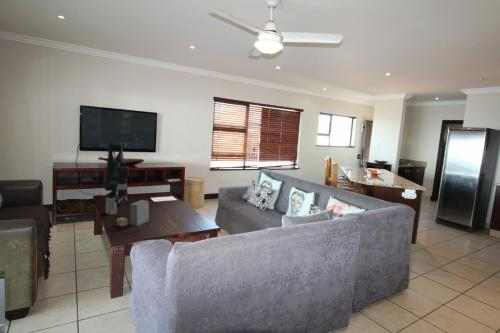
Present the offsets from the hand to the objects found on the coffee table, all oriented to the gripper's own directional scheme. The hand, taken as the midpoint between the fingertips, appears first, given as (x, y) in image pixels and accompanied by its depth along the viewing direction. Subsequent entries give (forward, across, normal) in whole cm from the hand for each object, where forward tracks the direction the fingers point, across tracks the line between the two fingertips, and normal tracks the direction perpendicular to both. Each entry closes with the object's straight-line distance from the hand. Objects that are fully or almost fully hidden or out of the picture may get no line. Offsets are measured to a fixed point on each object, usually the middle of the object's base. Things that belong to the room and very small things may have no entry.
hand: (122, 206), depth 258 cm
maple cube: (+18, 0, 0) cm, 18 cm away
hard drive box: (+18, -13, +8) cm, 24 cm away
